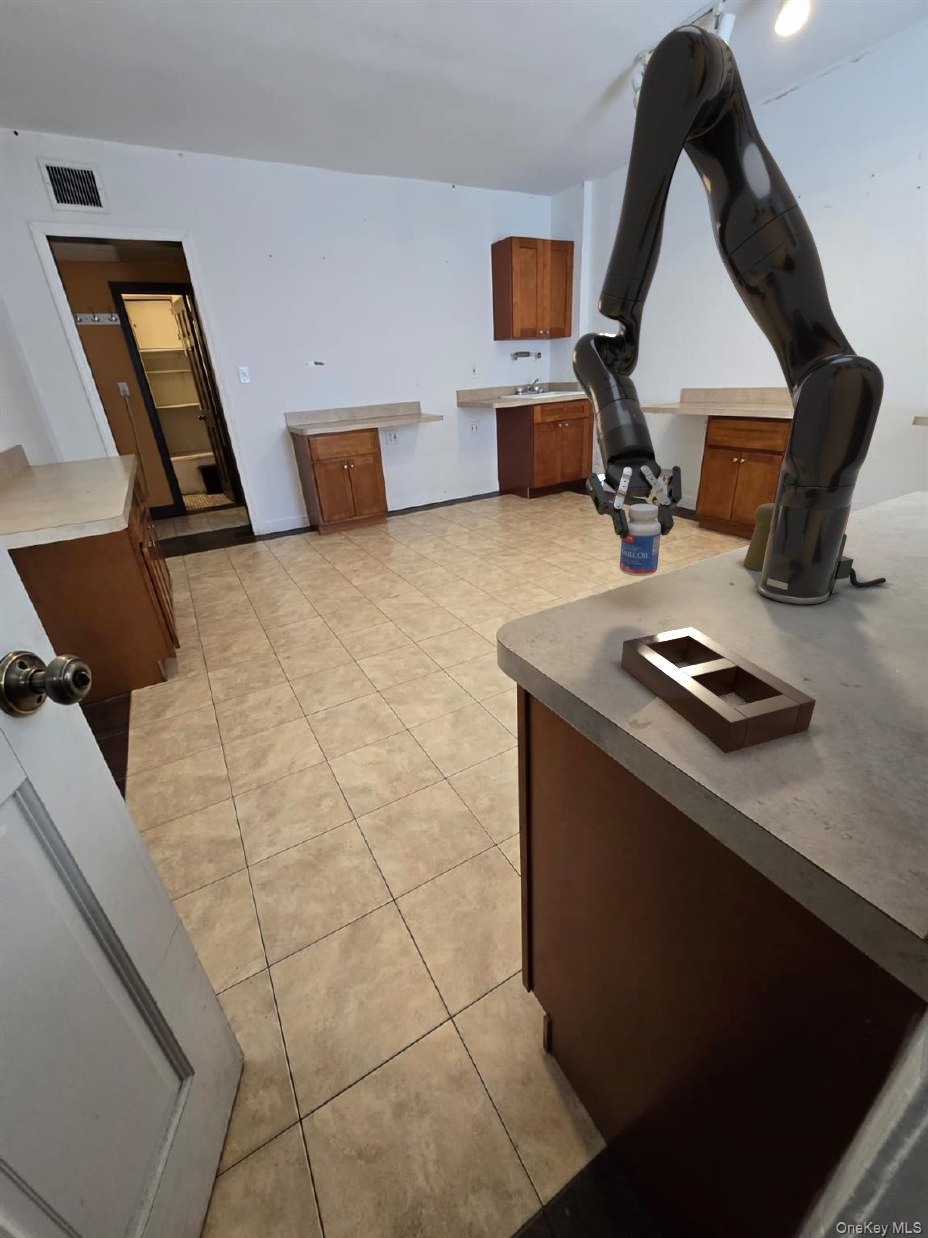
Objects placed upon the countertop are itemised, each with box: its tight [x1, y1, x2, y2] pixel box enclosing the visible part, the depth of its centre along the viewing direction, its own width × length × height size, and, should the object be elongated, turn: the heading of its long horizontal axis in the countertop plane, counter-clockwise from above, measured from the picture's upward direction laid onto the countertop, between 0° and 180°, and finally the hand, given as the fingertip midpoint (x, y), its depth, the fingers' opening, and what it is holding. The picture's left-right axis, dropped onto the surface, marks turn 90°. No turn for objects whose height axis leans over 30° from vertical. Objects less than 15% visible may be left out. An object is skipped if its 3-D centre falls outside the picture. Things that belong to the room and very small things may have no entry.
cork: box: [742, 502, 775, 572], centre depth 90 cm, size 6×6×11 cm
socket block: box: [621, 626, 817, 754], centre depth 56 cm, size 10×18×4 cm, turn 17°
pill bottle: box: [619, 503, 662, 577], centre depth 75 cm, size 6×5×10 cm
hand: (645, 533), depth 73 cm, fingers closed on pill bottle, 5 cm apart
